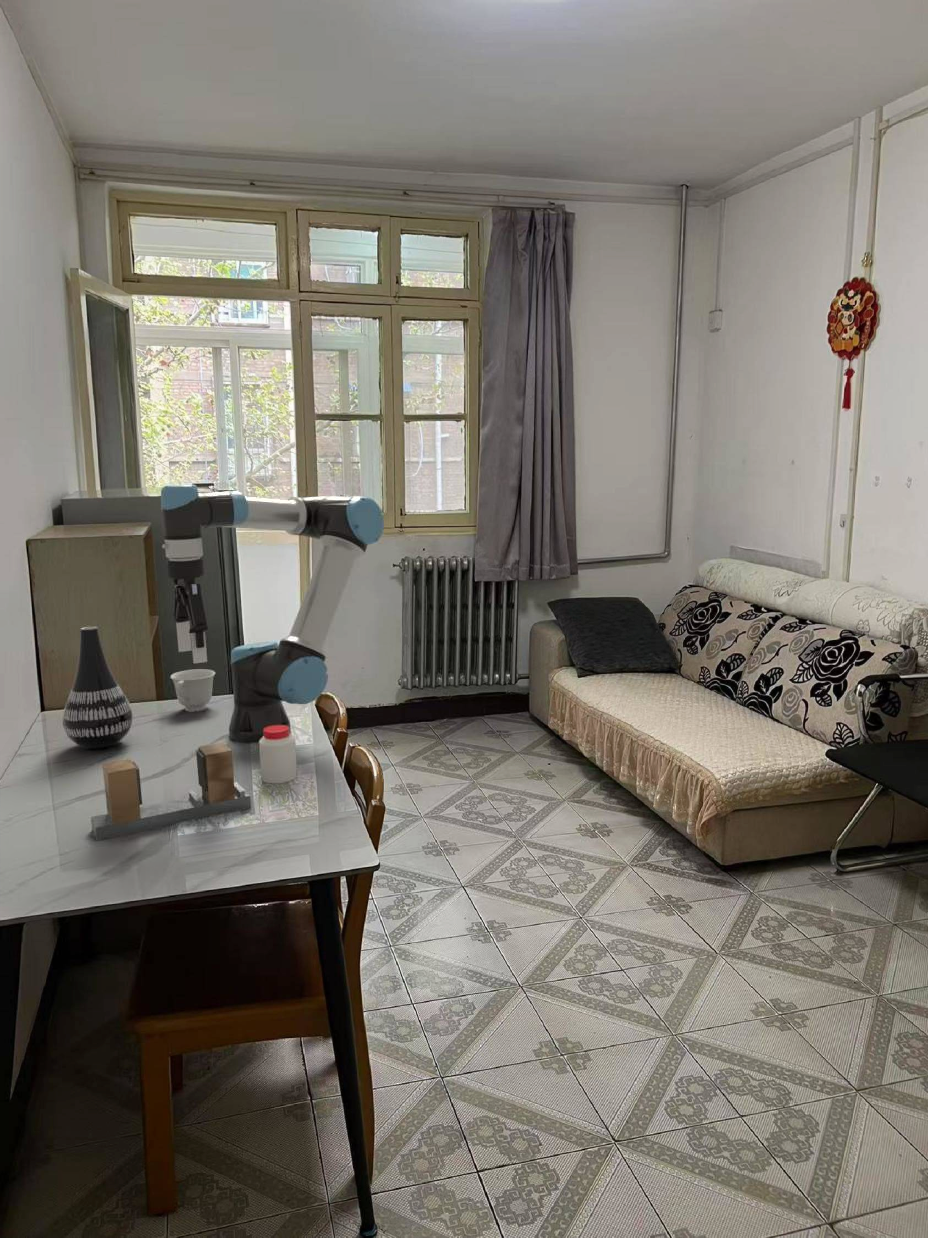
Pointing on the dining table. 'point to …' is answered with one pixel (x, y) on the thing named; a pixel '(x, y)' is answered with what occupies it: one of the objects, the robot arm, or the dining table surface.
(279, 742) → the pill bottle
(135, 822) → the rail
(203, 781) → the brown wooden block
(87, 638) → the vase
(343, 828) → the dining table surface
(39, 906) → the dining table surface
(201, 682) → the teacup
